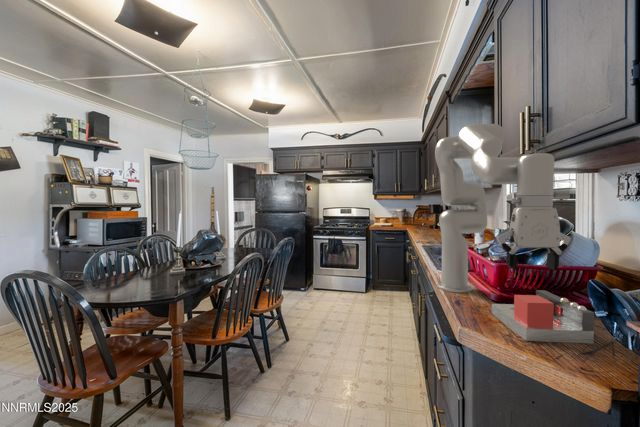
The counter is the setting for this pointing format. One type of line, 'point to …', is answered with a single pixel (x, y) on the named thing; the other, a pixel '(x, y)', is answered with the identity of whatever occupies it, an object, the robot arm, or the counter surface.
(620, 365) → the counter surface
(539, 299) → the matte red cuboid
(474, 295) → the counter surface
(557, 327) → the grey slider control panel
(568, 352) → the counter surface
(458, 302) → the counter surface
